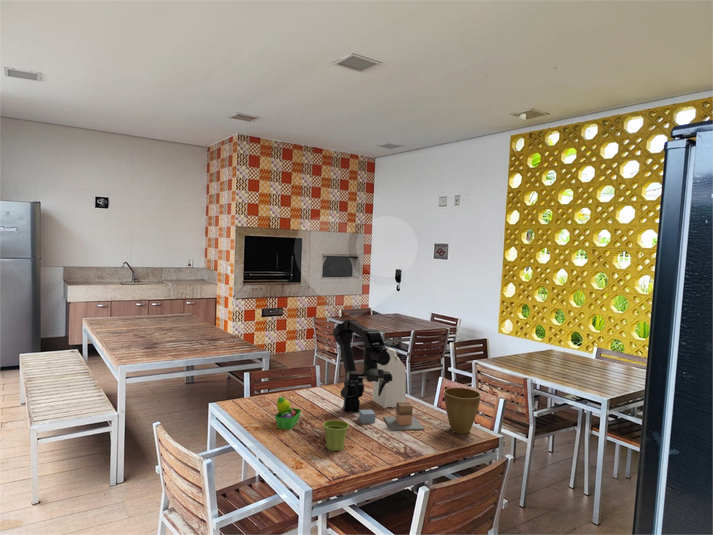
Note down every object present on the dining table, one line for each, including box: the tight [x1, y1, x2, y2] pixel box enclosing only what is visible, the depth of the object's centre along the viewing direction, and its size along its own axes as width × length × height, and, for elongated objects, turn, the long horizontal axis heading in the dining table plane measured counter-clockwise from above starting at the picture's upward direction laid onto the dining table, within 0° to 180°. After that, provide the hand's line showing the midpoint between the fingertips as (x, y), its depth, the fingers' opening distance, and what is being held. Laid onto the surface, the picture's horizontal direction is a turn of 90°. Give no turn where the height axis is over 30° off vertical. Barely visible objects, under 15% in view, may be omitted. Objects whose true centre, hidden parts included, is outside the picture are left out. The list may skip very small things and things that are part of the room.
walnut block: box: [395, 401, 414, 416], centre depth 200 cm, size 6×6×4 cm
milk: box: [372, 347, 407, 409], centre depth 226 cm, size 12×12×26 cm
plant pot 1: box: [322, 419, 350, 452], centre depth 172 cm, size 9×9×9 cm
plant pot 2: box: [443, 387, 482, 435], centre depth 196 cm, size 15×15×16 cm
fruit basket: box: [274, 396, 302, 430], centre depth 192 cm, size 11×9×11 cm
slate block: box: [358, 408, 376, 424], centre depth 202 cm, size 6×6×4 cm
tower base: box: [383, 410, 425, 431], centre depth 200 cm, size 14×14×5 cm
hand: (368, 396), depth 201 cm, fingers open, 9 cm apart
